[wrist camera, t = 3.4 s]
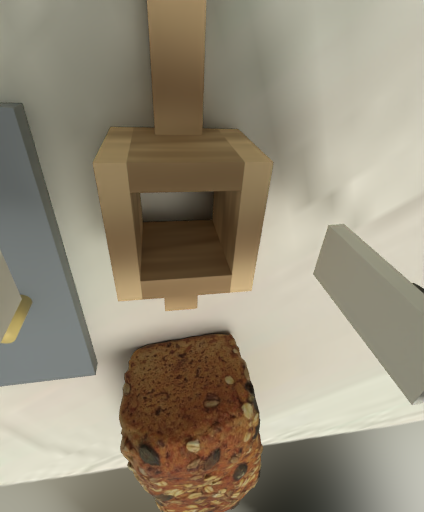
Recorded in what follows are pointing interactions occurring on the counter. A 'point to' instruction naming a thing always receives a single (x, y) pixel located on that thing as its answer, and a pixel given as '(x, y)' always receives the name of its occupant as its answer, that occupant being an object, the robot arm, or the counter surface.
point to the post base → (36, 269)
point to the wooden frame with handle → (181, 179)
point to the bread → (191, 424)
